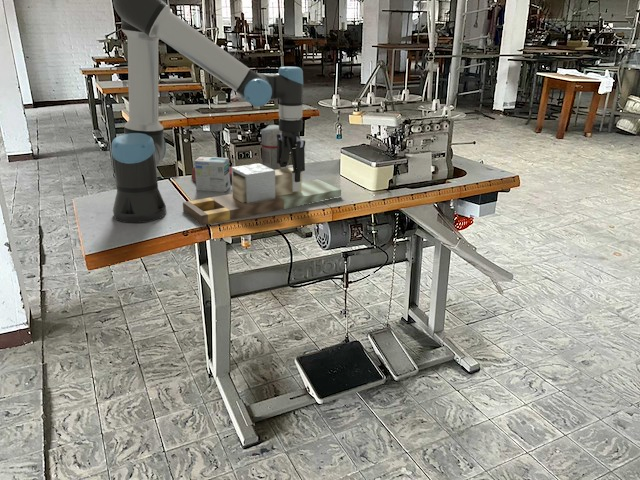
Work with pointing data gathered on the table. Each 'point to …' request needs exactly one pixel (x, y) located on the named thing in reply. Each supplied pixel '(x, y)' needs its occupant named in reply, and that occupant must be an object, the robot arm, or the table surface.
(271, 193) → the matte grey cube
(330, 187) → the deck
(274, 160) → the spray can
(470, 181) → the table surface
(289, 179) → the maple beam
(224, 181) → the light bulb box
